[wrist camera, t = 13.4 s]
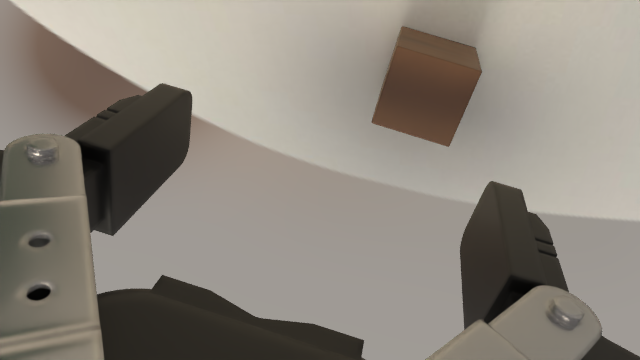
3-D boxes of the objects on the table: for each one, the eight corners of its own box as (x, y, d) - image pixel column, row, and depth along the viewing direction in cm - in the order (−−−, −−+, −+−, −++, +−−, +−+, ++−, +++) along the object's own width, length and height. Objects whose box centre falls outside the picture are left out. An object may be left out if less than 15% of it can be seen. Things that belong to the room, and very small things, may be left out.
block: (447, 116, 30) (448, 147, 26) (379, 95, 30) (371, 123, 26) (476, 47, 27) (482, 71, 24) (401, 25, 27) (396, 45, 24)
